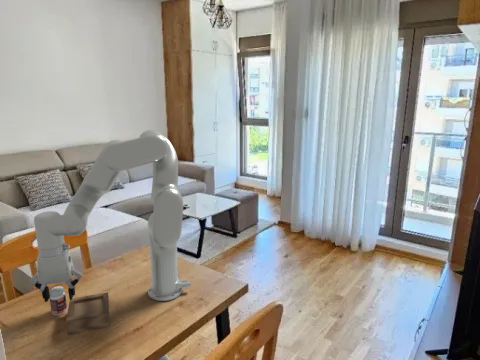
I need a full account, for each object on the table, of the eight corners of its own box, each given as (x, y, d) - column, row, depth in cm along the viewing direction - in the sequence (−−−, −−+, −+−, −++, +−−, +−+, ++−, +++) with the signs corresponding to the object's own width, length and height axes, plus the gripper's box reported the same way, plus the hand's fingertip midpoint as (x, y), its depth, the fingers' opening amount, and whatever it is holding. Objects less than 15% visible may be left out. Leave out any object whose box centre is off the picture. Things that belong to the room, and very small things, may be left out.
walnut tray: (109, 304, 121) (108, 292, 120) (109, 326, 110) (108, 312, 109) (71, 312, 117) (69, 299, 116) (68, 334, 106) (66, 320, 105)
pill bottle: (60, 316, 114) (57, 294, 112) (48, 314, 115) (45, 292, 113) (70, 308, 119) (67, 286, 117) (58, 306, 120) (55, 284, 118)
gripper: (83, 242, 117) (89, 289, 121) (27, 247, 114) (35, 294, 118) (78, 252, 110) (84, 301, 114) (17, 257, 106) (27, 308, 111)
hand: (59, 297), depth 116 cm, fingers open, 7 cm apart
